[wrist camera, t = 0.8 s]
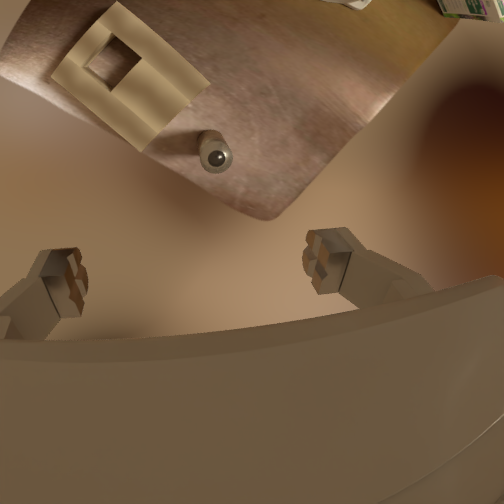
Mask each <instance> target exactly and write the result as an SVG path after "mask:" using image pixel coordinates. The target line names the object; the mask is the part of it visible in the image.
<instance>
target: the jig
mask: <svg viewBox="0 0 504 504" xmlns="http://www.w3.org/2000/svg"><path fill="white" fill-rule="evenodd" d="M115 36H117V37H118V38H119V39H120V40H122V41H123V42H124V43H125V44H126V45H128V46H129V47H130V48H131V49H132V50H133V51H135V52H136V53H137V54H138V55H139V56H140V57H142V59H141V60H140V61H139V62H138V63H137V64H136V65H135V66H134V67H133V68H132V69H131V70H130V71H129V73H128V74H127V75H126V76H125V77H124V78H123V79H122V80H121V81H120V82H119V83H118V84H117V86H116V87H115V88H112V87H111V86H110V85H109V84H108V83H107V82H105V81H104V80H103V79H102V78H101V77H99V76H98V75H97V74H96V73H95V72H93V71H92V70H91V69H90V68H89V67H88V66H89V65H90V64H91V63H92V61H93V60H94V59H95V58H96V57H97V56H98V55H99V53H100V52H101V51H102V50H103V49H104V48H105V47H106V46H107V45H108V44H109V43H110V42H111V41H112V39H113V38H114V37H115ZM50 77H51V78H52V79H53V80H55V81H56V82H57V83H58V84H59V85H61V86H62V87H63V88H64V89H65V90H67V91H68V92H69V93H70V94H71V95H73V96H74V97H75V98H76V99H77V100H79V101H80V102H81V103H82V104H83V105H85V106H86V107H87V108H88V109H89V110H91V111H92V112H93V113H94V114H95V115H97V116H98V117H99V118H100V119H101V120H103V121H104V122H105V123H106V124H107V125H109V126H110V127H111V128H112V129H113V130H115V131H116V132H117V133H118V134H119V135H121V136H122V137H123V138H124V139H125V140H127V141H128V142H129V143H130V144H131V145H133V146H134V147H135V148H136V149H137V150H139V151H140V152H142V151H143V150H144V149H145V147H146V146H147V145H148V144H149V143H150V142H151V141H152V140H153V139H154V138H155V137H156V136H157V135H158V134H159V132H160V131H161V130H162V129H163V128H164V127H165V126H166V125H167V124H168V123H169V122H170V121H171V120H172V119H173V118H174V117H175V116H176V115H177V114H178V113H179V112H180V111H181V110H182V109H183V108H184V107H185V106H187V105H188V104H189V103H190V102H191V101H192V100H193V99H194V98H195V97H196V96H197V95H198V94H199V93H201V92H202V91H203V90H204V89H205V88H206V87H207V86H208V85H209V84H210V83H209V82H208V81H207V80H206V79H205V78H204V77H203V76H202V75H201V74H200V73H199V72H198V71H197V70H196V69H195V68H194V67H193V66H192V65H191V64H190V63H189V62H187V61H186V60H185V59H184V58H183V57H182V56H181V55H180V54H179V53H178V52H177V51H176V50H174V49H173V48H172V47H171V46H170V45H169V44H168V43H167V42H165V41H164V40H163V39H162V38H161V37H160V36H159V35H157V34H156V33H155V32H154V31H153V30H152V29H150V28H149V27H148V26H147V25H146V24H145V23H143V22H142V21H141V20H140V19H139V18H137V17H136V16H135V15H134V14H132V13H131V12H130V11H129V10H127V9H126V8H125V7H124V6H122V5H121V4H120V3H119V2H117V1H116V2H115V3H114V4H113V5H112V6H111V7H110V8H109V9H108V10H107V11H106V12H105V13H104V14H103V15H102V16H101V17H100V18H99V19H98V20H97V21H96V22H95V23H94V24H93V25H92V26H91V27H90V28H89V30H88V31H87V32H86V33H85V34H84V35H83V36H82V37H81V38H80V40H79V41H78V42H77V43H76V44H75V45H74V47H73V48H72V49H71V50H70V51H69V53H68V54H67V55H66V56H65V58H64V59H63V60H62V61H61V63H60V64H59V65H58V67H57V68H56V69H55V71H54V72H53V73H52V75H51V76H50Z"/></svg>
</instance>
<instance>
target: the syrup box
mask: <svg viewBox="0 0 504 504" xmlns="http://www.w3.org/2000/svg"><path fill="white" fill-rule="evenodd" d="M437 1H438V4H439V6H440V8H441V10H442V12H443V15H444V17H450V18H465V19H475V20H483V21H490V22H497V23H503V22H504V0H437Z"/></svg>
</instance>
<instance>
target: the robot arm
mask: <svg viewBox="0 0 504 504" xmlns="http://www.w3.org/2000/svg"><path fill="white" fill-rule="evenodd" d="M322 1H326V2H334V3H341V4H344V5H346V6H348V7H350V8H352V9H354V10H361V9H363V8H364V7H365V6H366V5H367V4H369V3H370V2H371V1H372V0H362V1H361V0H322ZM306 242H307V243H308V246H307V247H306V248H305V249H304V251H303V256H302V261H303V268H304V271H305V272H306V274H307V275H308V276H310V277H312V282H311V283H312V285H313V287H314V288H315V290H316V292H317V293H318V295H319V294H320V295H321V294H329V293H336V292H339V294H341V295H342V296H343V297H345V298H346V299H347V300H349V301H350V302H351V303H353V304H354V305H355V306H357V307H358V308H360V309H357V310H353V311H347V312H342V313H337V314H331V315H326V316H321V317H315V318H309V319H303V320H297V321H290V322H284V323H277V324H271V325H264V326H256V327H249V328H241V329H234V330H225V331H216V332H207V333H197V334H187V335H175V336H162V337H149V338H132V339H109V340H67V341H66V340H64V341H63V340H56V341H55V340H45V339H46V337H47V336H48V334H50V332H51V331H52V330H53V328H54V327H55V326H56V325H57V323H58V322H59V321H60V318H75V317H81V315H82V311H83V307H84V300H83V297H84V296H85V295H86V294H87V291H88V276H87V272H86V268H85V267H84V266H83V265H81V264H80V263H81V260H82V256H81V252H80V250H79V249H78V248H77V247H74V248H60V249H47V250H42V251H40V252H39V254H38V256H37V257H36V259H35V261H34V263H33V265H32V267H31V269H30V271H29V273H28V275H27V277H26V278H23V279H21V280H20V281H19V282H18V283H16V284H15V285H14V286H13V287H12V288H10V289H9V290H8V291H7V292H5V293H4V294H3V295H2V296H1V297H0V504H504V279H502V278H500V277H498V276H494V275H492V276H487V277H484V278H481V279H478V280H474V281H471V282H467V283H464V284H460V285H457V286H453V287H450V288H446V289H442V290H439V291H435V290H434V289H433V288H432V287H431V286H430V284H429V283H428V282H427V281H426V280H425V279H424V278H423V277H422V275H421V274H419V273H417V272H415V271H413V270H411V269H409V268H407V267H405V266H403V265H401V264H398V263H397V262H394V261H392V260H390V259H388V258H386V257H384V256H382V255H380V254H378V253H376V252H373V251H372V250H366V248H365V247H364V246H363V245H362V244H361V243H360V242H359V240H358V239H357V238H356V237H355V236H354V235H353V234H352V233H351V231H350V230H349V229H348V228H346V227H341V228H331V229H318V230H309V231H308V233H307V236H306Z"/></svg>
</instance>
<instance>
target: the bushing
mask: <svg viewBox="0 0 504 504" xmlns="http://www.w3.org/2000/svg"><path fill="white" fill-rule="evenodd" d="M197 147H198V151H199V156H200V161H201V165H202V167H203V168H204V169H205V170H206V171H208V172H210V173H215V174H217V173H222V172H224V171H226V170H227V169H228V168H229V167H230V165H231V163H232V160H233V155H232V152H231V150H230V148H229V146H228V145H227V143H226V141H225V139H224V138H223V136H222V134H221V133H220V132H218V131H216V130H206V131H204V132H202V133H201V134H200V136H199V137H198V140H197Z"/></svg>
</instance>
